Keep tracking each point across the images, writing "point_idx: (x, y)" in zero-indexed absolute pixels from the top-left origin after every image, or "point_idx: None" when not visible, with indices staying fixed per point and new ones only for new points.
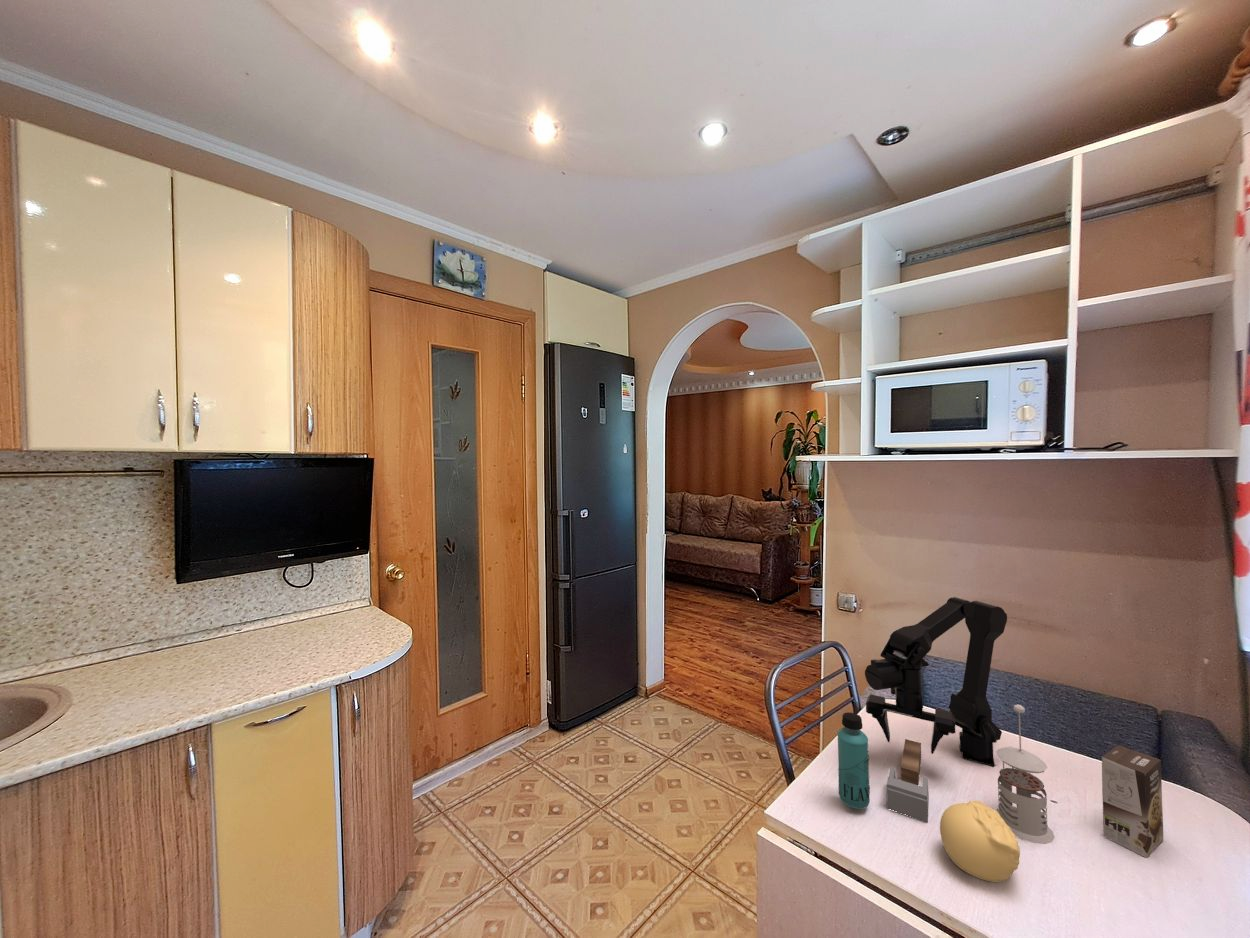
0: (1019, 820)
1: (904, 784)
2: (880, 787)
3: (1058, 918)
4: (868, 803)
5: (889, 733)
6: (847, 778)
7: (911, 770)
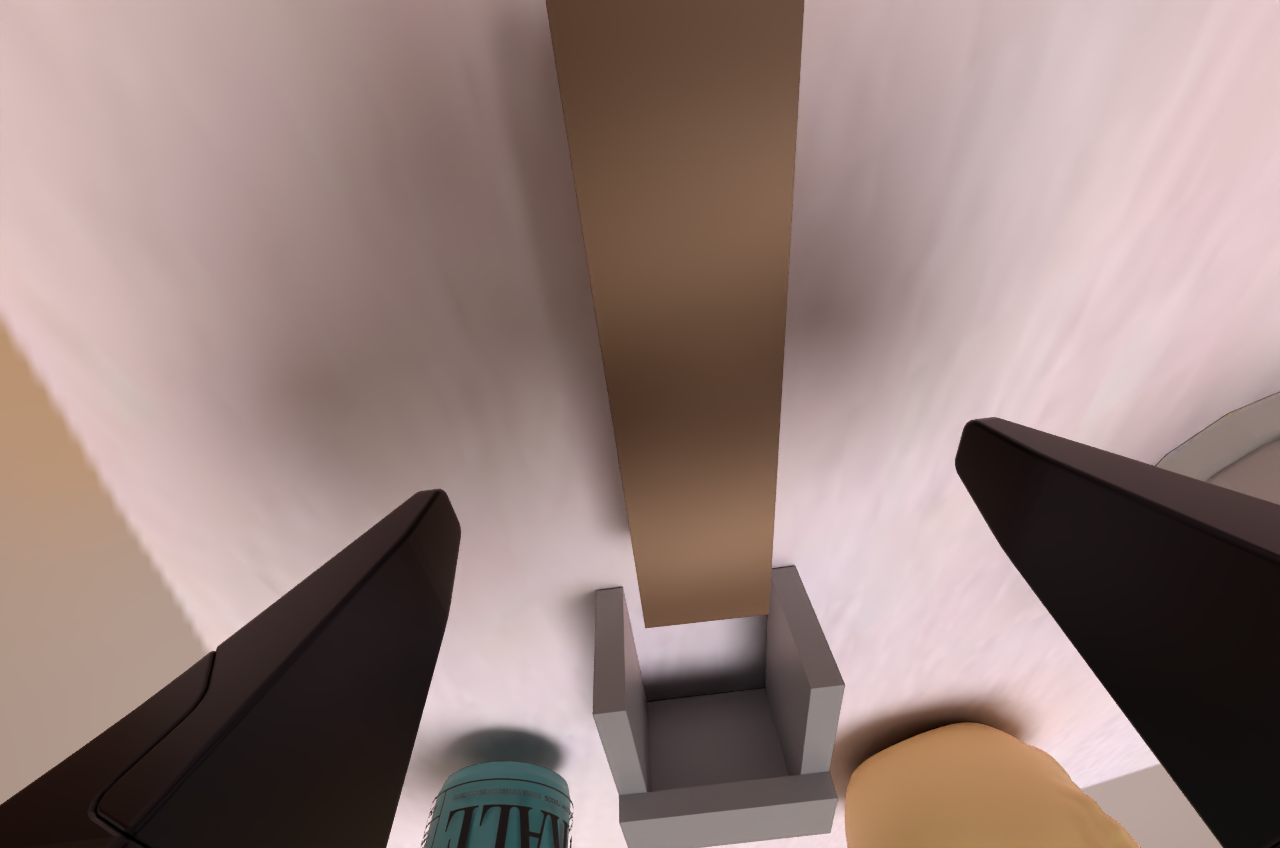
0: None
1: (714, 825)
2: (553, 624)
3: (1078, 779)
4: (572, 814)
5: (404, 579)
6: None
7: (722, 616)
